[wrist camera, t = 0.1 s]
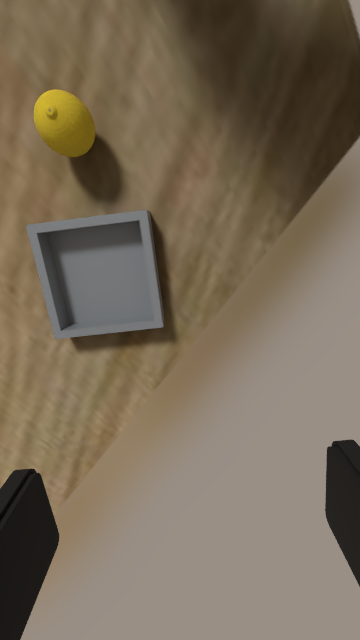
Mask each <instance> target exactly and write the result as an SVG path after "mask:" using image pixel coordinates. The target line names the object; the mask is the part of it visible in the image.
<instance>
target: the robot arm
mask: <svg viewBox="0 0 360 640" xmlns="http://www.w3.org/2000/svg"><path fill="white" fill-rule="evenodd" d="M325 511H326V518H327V521H328V523H329V526H330V528H331V530H332V532H333V534H334V536H335V538H336V540H337V542H338V544H339V546H340V548H341V550H342V552H343V554H344V556H345V558H346V560H347V561H348V564H349V566H350V568H351V570H352V572H353V574H354V576H355V578H356V580H357V582H358V584H359V586H360V447H359V445H358V444H357V443H356V442H355V441H354V440H343V441H334V442H333V443H332V447H328V448H327V471H326V509H325ZM58 542H59V533H58V529H57V525H56V522H55V519H54V516H53V513H52V509H51V506H50V503H49V500H48V497H47V493H46V490H45V487H44V484H43V481H42V477H41V475H40V474H39V473H36V471H35V470H34V469H23V470H15V471H13V473H12V474H11V475H10V476H9V478H8V479H7V480H6V482H5V483H4V485H3V486H2V487H1V489H0V640H20V639H21V636H22V634H23V631H24V629H25V626H26V624H27V621H28V619H29V616H30V614H31V611H32V609H33V606H34V604H35V601H36V599H37V596H38V594H39V591H40V589H41V586H42V584H43V581H44V579H45V576H46V574H47V571H48V569H49V566H50V564H51V561H52V559H53V556H54V554H55V551H56V549H57V546H58Z"/></svg>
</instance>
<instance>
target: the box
mask: <svg viewBox="0 0 360 640" xmlns="http://www.w3.org/2000/svg"><path fill="white" fill-rule="evenodd" d="M26 227H27V231H28V235H29V239H30V243H31V247H32V251H33V255H34V259H35V263H36V267H37V270H38V274H39V278H40V282H41V286H42V290H43V294H44V298H45V302H46V306H47V310H48V314H49V318H50V322H51V326H52V330H53V334H54V338H55V339H61V338H70V337H79V336H89V335H98V334H107V333H116V332H125V331H134V330H144V329H153V328H162V327H163V326H164V321H165V316H164V309H163V302H162V295H161V287H160V280H159V273H158V266H157V258H156V251H155V244H154V237H153V229H152V222H151V215H150V212H149V211H148V210H141V211H133V212H125V213H117V214H109V215H101V216H93V217H86V218H78V219H70V220H62V221H54V222H46V223H38V224H30V225H26Z"/></svg>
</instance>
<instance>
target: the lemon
mask: <svg viewBox="0 0 360 640" xmlns="http://www.w3.org/2000/svg"><path fill="white" fill-rule="evenodd" d="M34 120H35V125H36V128H37V130H38V133H39V134H40V136H41V137H42V139H43V140H44V142H45V143H46V144H47V145H48V146H49V147H50V148H51V149H52V150H54V151H56V152H57V153H59V154H61V155H64V156H67V157H78V156H81V155H83V154H85V153H87V152H88V151H89V149H90V148H91V147H92V145H93V143H94V139H95V126H94V121H93V118H92V116H91V114H90V112H89V110H88V109H87V108H86V106H85V105H84V104H83V102H82V101H80V100H79V99H78V98H77V97H75V96H74V95H72V94H70V93H68V92H66V91H62V90H49V91H47V92H45V93H43V94H42V95H41V96H40V97H39V99H38V100H37V102H36V104H35V108H34Z"/></svg>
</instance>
